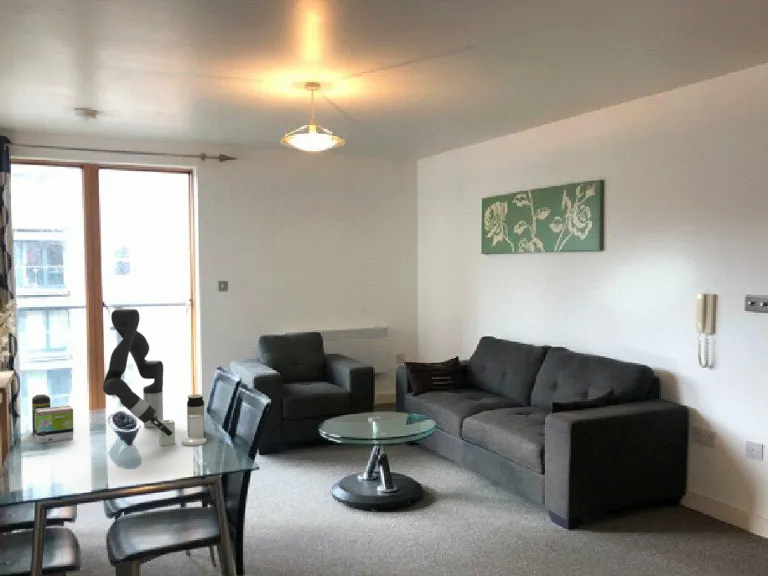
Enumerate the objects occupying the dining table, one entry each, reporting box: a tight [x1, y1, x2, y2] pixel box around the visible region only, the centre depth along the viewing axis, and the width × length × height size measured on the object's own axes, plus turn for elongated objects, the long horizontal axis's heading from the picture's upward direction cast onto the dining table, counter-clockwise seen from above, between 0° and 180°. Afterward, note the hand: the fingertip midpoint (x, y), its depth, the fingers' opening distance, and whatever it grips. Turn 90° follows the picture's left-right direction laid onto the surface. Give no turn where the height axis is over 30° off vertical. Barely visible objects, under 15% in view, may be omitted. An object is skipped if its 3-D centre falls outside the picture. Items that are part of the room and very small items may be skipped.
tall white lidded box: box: [187, 414, 205, 438], centre depth 309 cm, size 6×6×10 cm
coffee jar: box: [31, 394, 52, 435], centre depth 318 cm, size 10×8×19 cm
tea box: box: [34, 404, 74, 444], centre depth 306 cm, size 15×10×15 cm, turn 126°
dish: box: [180, 437, 207, 447], centre depth 298 cm, size 11×11×1 cm
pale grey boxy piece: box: [158, 419, 176, 447], centre depth 297 cm, size 6×6×10 cm
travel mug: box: [186, 393, 206, 432], centre depth 317 cm, size 8×8×18 cm
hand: (169, 432), depth 298 cm, fingers open, 8 cm apart
